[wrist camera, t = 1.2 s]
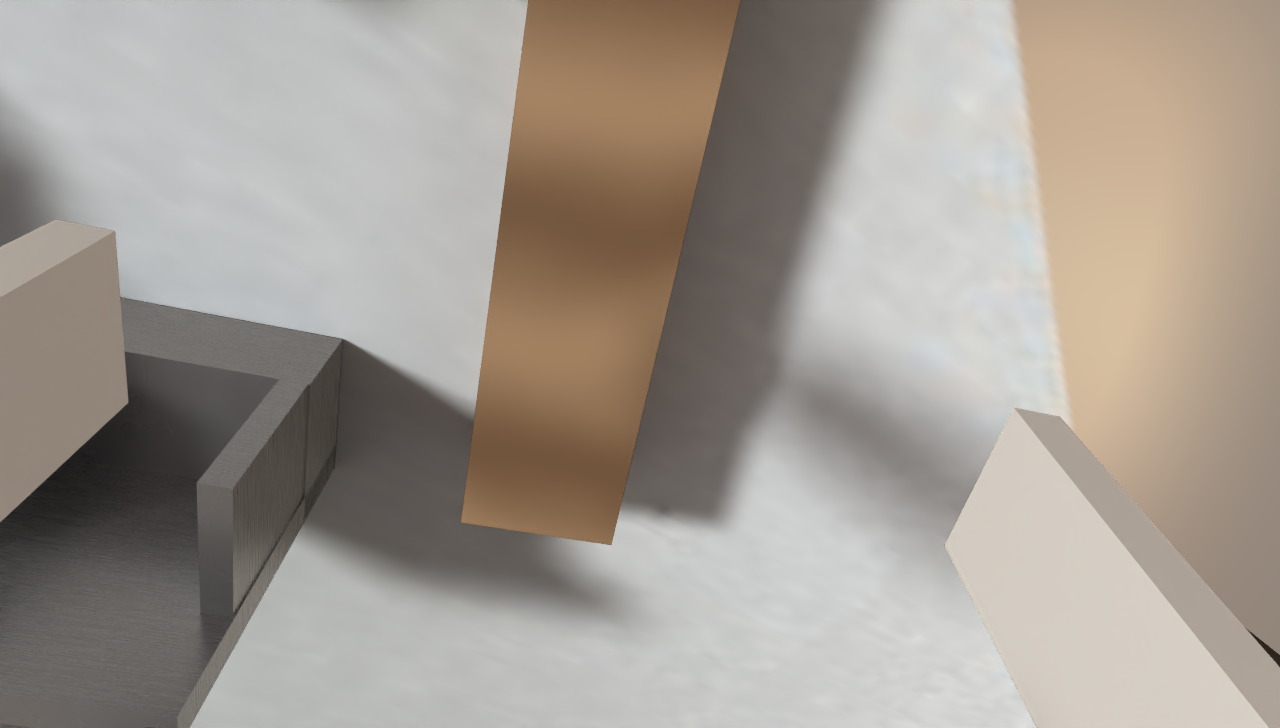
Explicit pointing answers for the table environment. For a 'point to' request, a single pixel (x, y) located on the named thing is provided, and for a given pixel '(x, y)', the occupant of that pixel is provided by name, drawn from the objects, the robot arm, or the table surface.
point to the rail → (588, 253)
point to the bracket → (164, 522)
